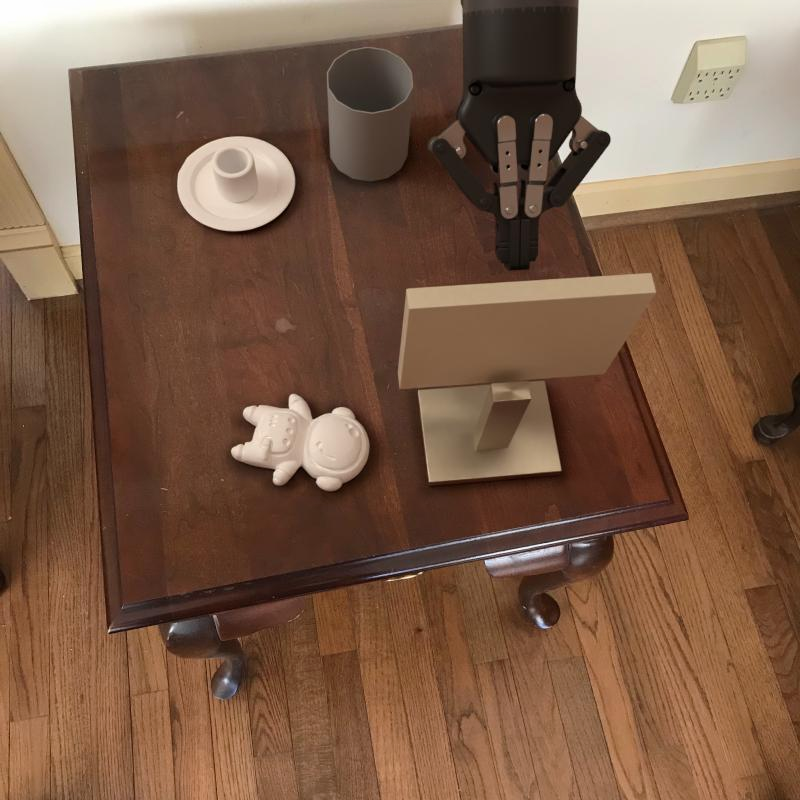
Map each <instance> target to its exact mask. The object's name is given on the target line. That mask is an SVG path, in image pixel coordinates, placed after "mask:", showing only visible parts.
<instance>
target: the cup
mask: <svg viewBox="0 0 800 800" xmlns="http://www.w3.org/2000/svg"><path fill="white" fill-rule="evenodd" d="M326 86H327V91H326V92H327V112H328V113H327V115H328V135H329V136H328V139H329V157H330V160H331V161H332V163H333V164H334V166H335V167H336V169H337V170H338V171H339V172H341V173H343V174H344V175H346V176H348V177H349V178H350V179H352V180H357V181H364V182H368V183H369V182H370V183H371V182H377V181H380V180H385V179H389V178H390V177H391V176H393V175H394V174H396V173H397V172H398V171H400V170H401V169H402V168H403V165H404V163H405V162H406V160H407V158H408V153H409V142H410V131H411V119H412V106H413V94H414V79H413V71H412V70H411V68H410V67H409V65H408V64H407V62H406V61H405V60H404V59H403V58H402V57H400V56H399V55H397V54H395V53H394V52H392V51H390V50H388V49H385V48H379V47H372V46H363V47H359V48H354V49H349V50H347V51H345V52H344V53H342V54H341V55H338V57H336V58H334V60H333V61H332V62H331V65H330V67H328V70H327V72H326Z"/></svg>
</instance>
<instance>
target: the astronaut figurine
mask: <svg viewBox="0 0 800 800" xmlns="http://www.w3.org/2000/svg"><path fill="white" fill-rule="evenodd" d="M242 416H243V418H244V419H245V421H247V422H248V423H250V424H251V425H253V426H254V427H255V429H254V431H253V434H252V439H251V441H246V442H244V444H243V443H240V444H239V443H238V444H237V445H235V446H233V447H232V448H231V450H230V454H231V456H232V457H233V458H234V459H235V460H236V461H238V462H240V463H241V462H242V463H244V464H247V465H250V466H254V467H258V468H264V469H270V470H271V469H272V470H274V472H273V474H272V477H273V478H272V483H273V484H274V485H275V486H284V485H286V484H287V483H288V482H289V480H291V478H292V477H293V476H294V475H295V474H296V472H297V471H298V469H299V468H300V467H301V468H303V469H304V471H305V472H306V473H307V474H308V475H309V476H310V477H312V478H313V479H315V480H316V481H315V484H316V485H317V486H318V488H320V490H323V491H326V492H335V491H338V490H339V489H340V488H341V487H342V486H343V484H345V483H347V482H350V481H351V480H352V479H354V478H356V477H357V476H358V475H359V474H360V473H361V471H362V470H363V469H364V467H365V466H366V464H367V462H368V459H369V454H370V440H369V437H368V433H367V431H366V429H365V427H364V426H363V425H362V424H361V423H360V422H359V421H358V419H356V416H355V414H354V412H353V411H352V410H351V408H348V407H344V406H340V407H336V408H334V409H333V410H332V411H331V413H330V412H328V413H324V414H322V415H319V416H318V417H316V418H314V419H313V416H312V411H311V409H310V407H309V405H308V402H307V401H306V400H304V398H303V397H302V396H300V395H298V394H297V393H291V394H290V395H289V397H288V408H283V407H276V406H272V405H265V404H259V405H258V406H257V405H250V406H246V407H244V409H243V411H242Z"/></svg>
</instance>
